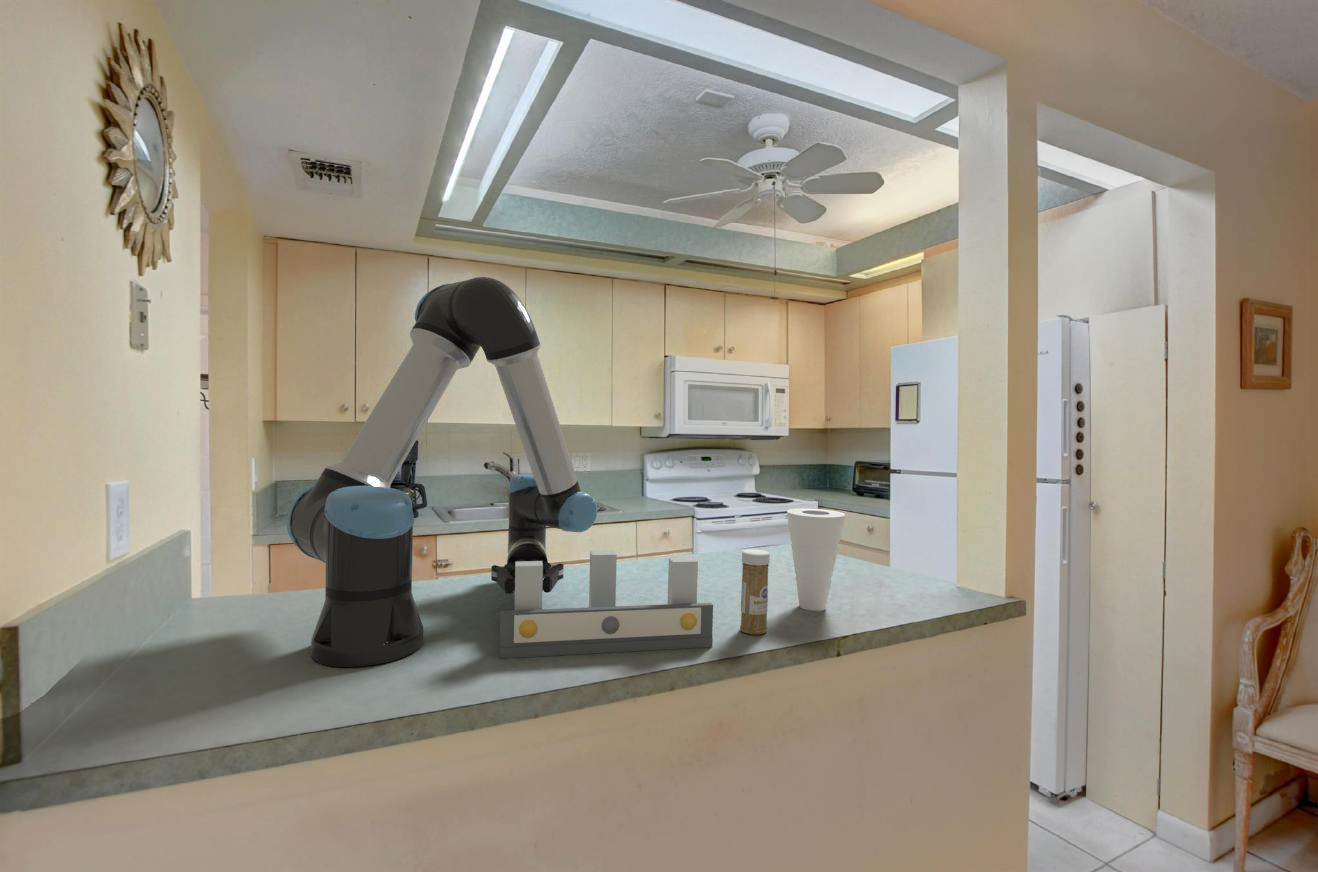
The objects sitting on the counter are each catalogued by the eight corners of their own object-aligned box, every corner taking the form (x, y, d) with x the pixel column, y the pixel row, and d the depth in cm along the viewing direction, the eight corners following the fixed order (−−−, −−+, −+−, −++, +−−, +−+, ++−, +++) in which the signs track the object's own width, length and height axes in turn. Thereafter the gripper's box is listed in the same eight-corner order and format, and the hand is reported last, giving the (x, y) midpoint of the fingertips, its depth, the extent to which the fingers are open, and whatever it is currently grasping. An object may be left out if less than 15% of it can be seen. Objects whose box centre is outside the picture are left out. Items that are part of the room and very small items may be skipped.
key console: (499, 659, 91) (500, 614, 90) (502, 628, 104) (502, 588, 103) (712, 647, 97) (714, 605, 97) (690, 619, 110) (691, 582, 110)
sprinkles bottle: (761, 637, 102) (764, 555, 102) (735, 632, 105) (737, 551, 104) (771, 629, 106) (773, 550, 106) (745, 624, 109) (748, 547, 108)
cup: (773, 601, 123) (776, 509, 122) (819, 596, 126) (822, 507, 126) (804, 618, 113) (807, 518, 112) (853, 613, 116) (857, 516, 116)
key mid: (590, 622, 102) (592, 555, 102) (588, 616, 105) (590, 551, 105) (615, 621, 103) (616, 554, 103) (612, 615, 106) (614, 550, 105)
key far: (671, 631, 99) (673, 562, 98) (667, 625, 102) (668, 557, 101) (695, 630, 100) (697, 561, 99) (690, 624, 103) (692, 557, 102)
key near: (514, 639, 93) (515, 566, 93) (514, 632, 96) (515, 561, 96) (541, 638, 94) (542, 565, 94) (540, 631, 97) (542, 560, 97)
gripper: (561, 580, 121) (571, 620, 98) (491, 582, 119) (484, 624, 96) (562, 541, 121) (572, 573, 98) (492, 543, 118) (485, 575, 95)
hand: (529, 598), depth 97 cm, fingers closed
